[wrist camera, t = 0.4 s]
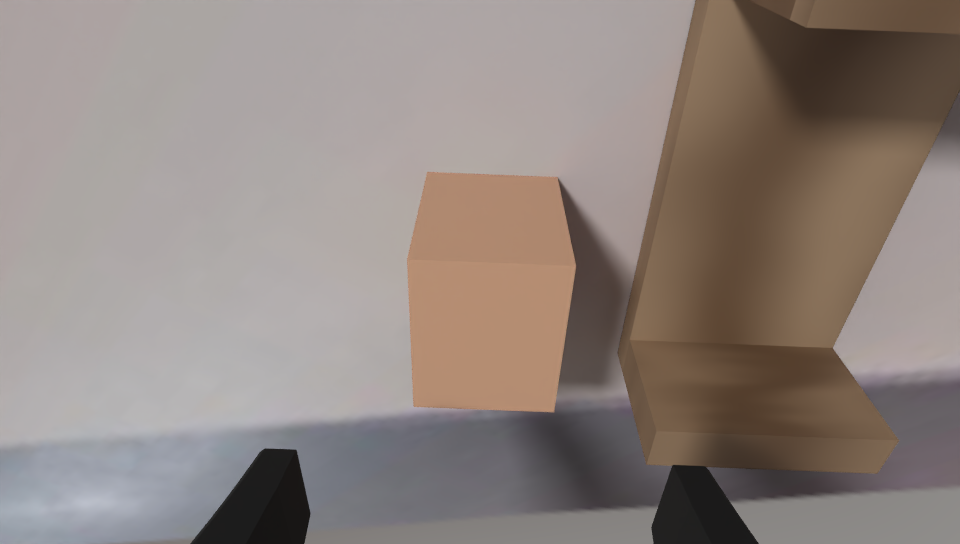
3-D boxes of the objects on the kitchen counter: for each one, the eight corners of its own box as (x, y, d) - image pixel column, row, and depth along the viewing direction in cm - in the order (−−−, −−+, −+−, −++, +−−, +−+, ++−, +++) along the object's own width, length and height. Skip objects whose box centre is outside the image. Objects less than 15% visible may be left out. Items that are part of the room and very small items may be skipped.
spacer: (557, 176, 18) (575, 266, 14) (542, 305, 21) (554, 412, 17) (427, 171, 18) (406, 259, 14) (429, 300, 21) (413, 406, 17)
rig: (1300, -703, 9) (2014, -1216, 5) (804, 360, 22) (880, 479, 17) (855, -722, 9) (1176, -1253, 5) (617, 353, 22) (647, 470, 17)
